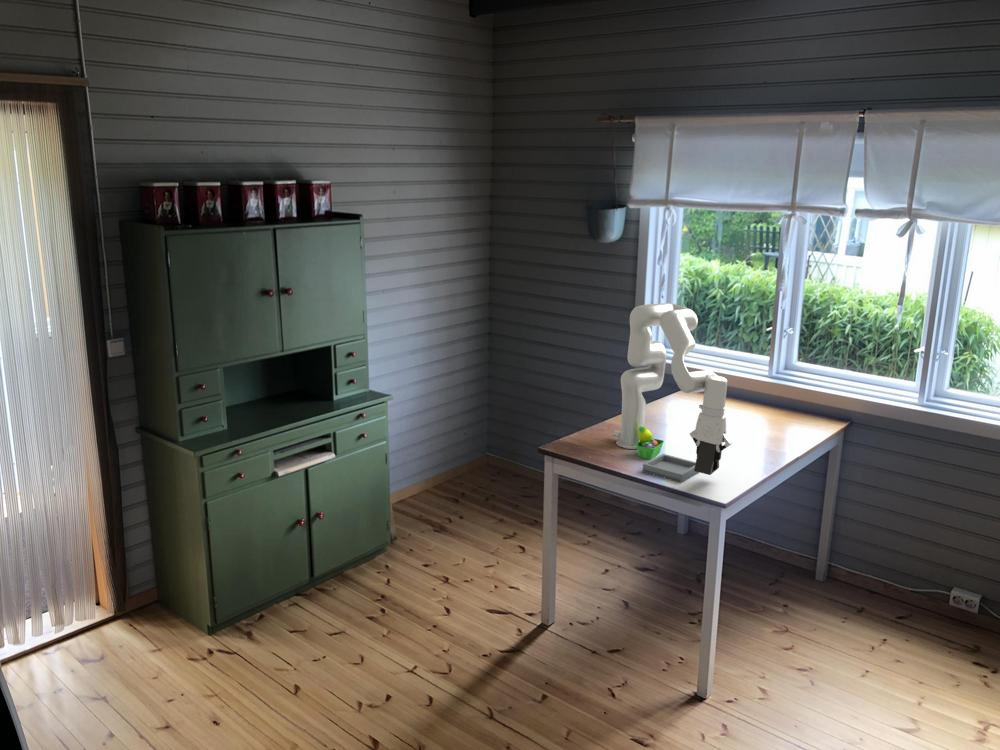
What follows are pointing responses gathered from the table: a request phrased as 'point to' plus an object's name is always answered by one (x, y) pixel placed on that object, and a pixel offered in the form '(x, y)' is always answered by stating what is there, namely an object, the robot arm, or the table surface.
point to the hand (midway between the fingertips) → (708, 458)
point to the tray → (670, 467)
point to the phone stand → (706, 459)
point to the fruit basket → (648, 444)
